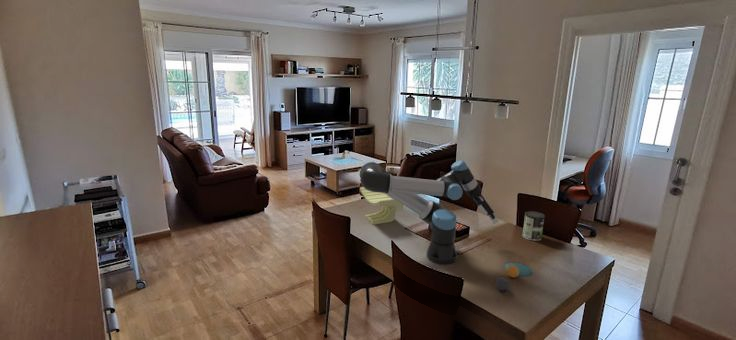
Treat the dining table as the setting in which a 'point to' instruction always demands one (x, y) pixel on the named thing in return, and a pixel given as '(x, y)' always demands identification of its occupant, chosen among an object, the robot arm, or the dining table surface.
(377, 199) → the slatted curved stool
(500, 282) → the charcoal ball
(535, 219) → the coffee can
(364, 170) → the robot arm
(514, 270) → the orange ball
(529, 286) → the dining table surface
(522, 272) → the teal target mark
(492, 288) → the dining table surface
